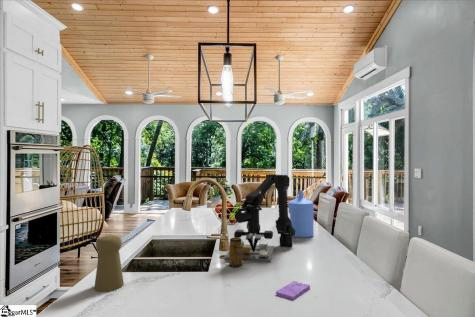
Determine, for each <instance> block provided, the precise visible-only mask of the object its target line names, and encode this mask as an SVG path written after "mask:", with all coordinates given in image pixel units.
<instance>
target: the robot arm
mask: <svg viewBox="0 0 475 317" xmlns="http://www.w3.org/2000/svg"><path fill="white" fill-rule="evenodd" d="M290 182H291V181H290V176H288V175H287V174H275V173H269V174H267V175H266V177H265V179H263V181H262V182H261V183H260V184H259V186H258V187H257V188H256V189H254V190H253V191H251V192H249V193H248V194H247V195H246V197H245V198H244V201H243V203H242V206H241V207H239V208H237V211H236V212H235V214H234V218H235V221H236V222H237V223H238V224H242V223H246V229H247V231H244V230H245V229H236V230H235V231H234V233H233V238H242V236H244V237H245V240H246V241H248V243H249V245H250V246H251V248H252V251H253V252H254V251H255V248H256V245H257V244H258V242H259V241H261V239H262V237H263V238H264V239H266V240H271V239H273V237H274V232H273V231H272V230H264V231H262V232H261V224H260V211H263V208H261V207H260V206H261V204H262V203H263V201H264V196H265V195H266V194H267V193H268V191H269V190H270V189H271V188H272V186H273V185H274V188H275V189H276V192H277V200H278V201H277V203H278V217H277V219H276V220H275V228H276V231H277V234H278V235H280V236H279V246H280V247H281V248H282V247H286V248H293V245H294V244H293V236H294V235H295V232H296V231H295V230H294V228H293V227H292V223H291V220H290V216H289V208H288V205H289V204H288V189H289V188H290Z"/></svg>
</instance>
